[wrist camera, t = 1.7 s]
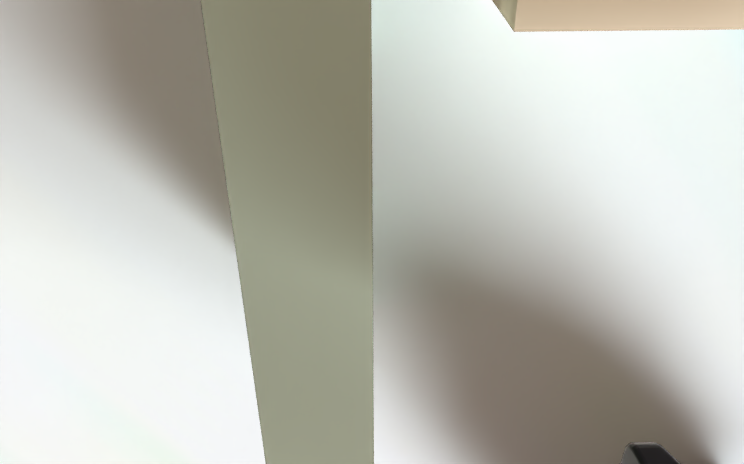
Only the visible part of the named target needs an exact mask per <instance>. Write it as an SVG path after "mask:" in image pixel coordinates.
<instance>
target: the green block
mask: <svg viewBox="0 0 744 464" xmlns="http://www.w3.org/2000/svg"><path fill="white" fill-rule="evenodd" d="M201 7H202V14H203V21H204V28H205V35H206V42H207V50H208V57H209V64H210V71H211V78H212V85H213V92H214V99H215V106H216V113H217V121H218V128H219V135H220V142H221V149H222V156H223V163H224V170H225V177H226V184H227V192H228V199H229V206H230V213H231V220H232V227H233V234H234V241H235V248H236V255H237V263H238V270H239V277H240V284H241V291H242V298H243V305H244V312H245V319H246V326H247V334H248V341H249V348H250V355H251V362H252V369H253V376H254V383H255V390H256V397H257V405H258V412H259V419H260V426H261V433H262V440H263V447H264V454H265V461H266V464H374V417H373V236H372V55H371V0H201Z"/></svg>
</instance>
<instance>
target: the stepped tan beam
mask: <svg viewBox="0 0 744 464" xmlns="http://www.w3.org/2000/svg"><path fill="white" fill-rule="evenodd" d="M492 1H493V2H494V4H495V5H496V6H497V8H498V9H499V11H500V12H501V14H502V15H503V16H504V18H505V19H506V21H507V22H508V24H509V25H510V27H511V28H512V29H513V31H514V32H526V31H623V30H720V29H744V0H492Z"/></svg>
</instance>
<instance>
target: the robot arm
mask: <svg viewBox="0 0 744 464" xmlns="http://www.w3.org/2000/svg"><path fill="white" fill-rule="evenodd" d="M620 464H680V463H679V462H678V461H677V460H676V459H675V458H674V457H673V456H672V455H671V454H670V453H669V452H668V451H667V450H665V449H664V448H663V447H662V446H661V445H659V444H657V443H653V442H637V443H630V444H628V445H627V446H626V448H625V450H624V454H623V457H622V460H621V463H620Z"/></svg>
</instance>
